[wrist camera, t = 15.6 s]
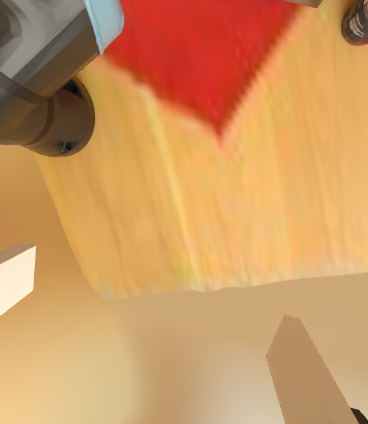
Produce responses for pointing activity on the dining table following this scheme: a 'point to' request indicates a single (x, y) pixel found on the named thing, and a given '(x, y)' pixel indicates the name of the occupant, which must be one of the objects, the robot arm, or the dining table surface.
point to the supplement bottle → (356, 23)
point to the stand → (306, 2)
